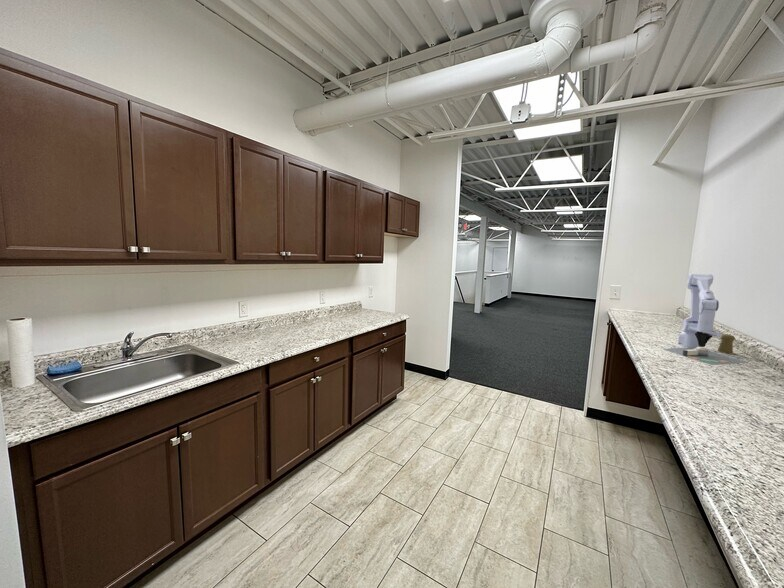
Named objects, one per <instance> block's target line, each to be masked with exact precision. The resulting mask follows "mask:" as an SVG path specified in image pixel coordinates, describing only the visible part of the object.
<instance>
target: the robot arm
mask: <svg viewBox="0 0 784 588" xmlns="http://www.w3.org/2000/svg"><path fill="white" fill-rule="evenodd" d="M686 279H687V280H686V288H687V289H688V290H690V296H691V297H690V311H689V312H690V316H689V317H686V318H685V319H684V320H683V322H682V329H681V330H682V332H680V334H679V335H678V339H677V345H679V346H682V347H684V348H697V347H703V348H706V347H705V346H706V345H707V343H708V342H709V341H710V340H711V339H712V338H713V337H716V338H721V337H722V335H723V333H721V332H717V331H714V330H713V327H714V321H715V317H716V313H717V311H718V310H719V307H720V301H719V300H718V299H717V298H716V296H715V295H714V292H713V291H712V290H711V289H710V288H711V285H712V284H713V281H714V276H713V274H711V273H710V274H706V273H705V274H702V273H689V274H688V275H687V278H686Z"/></svg>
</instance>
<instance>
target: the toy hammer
mask: <svg viewBox="0 0 784 588" xmlns="http://www.w3.org/2000/svg"><path fill="white" fill-rule="evenodd" d="M708 351H709V350H707V348H706V347H697V348H694V349H693V350H683V355H701V356H708Z"/></svg>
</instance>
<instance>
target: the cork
mask: <svg viewBox="0 0 784 588" xmlns="http://www.w3.org/2000/svg"><path fill="white" fill-rule="evenodd" d="M735 338H736V337H735V336H734V335H732V334H726V333H725V334H724V333H722V337H720V339H721V341H720V343H719V346H718V348H717V352H719V353H724V354H734V352H733V351H734V348H733V347H734V345H733V343H734V341H735Z"/></svg>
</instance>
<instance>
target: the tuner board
mask: <svg viewBox="0 0 784 588" xmlns="http://www.w3.org/2000/svg"><path fill="white" fill-rule="evenodd" d="M693 349H694V348H689V347H673V348H672V347H671V348H662V350H664V351H666V352H670V353H673V354H676V355H679V356H683V357H686V358H689V359H693V360H694V361H697V362H698V361H699V362H702V363H704V364H708V365H710V366H714V365H731V364H733V365H734V364H745V363H746V364H747V363H749V362H748V361H744V360H741V359H738V358H734V357H730V356H726V355H723V354H720V353H716V352H713V351H709V350H708V356H701V355H683V350H693Z"/></svg>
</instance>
